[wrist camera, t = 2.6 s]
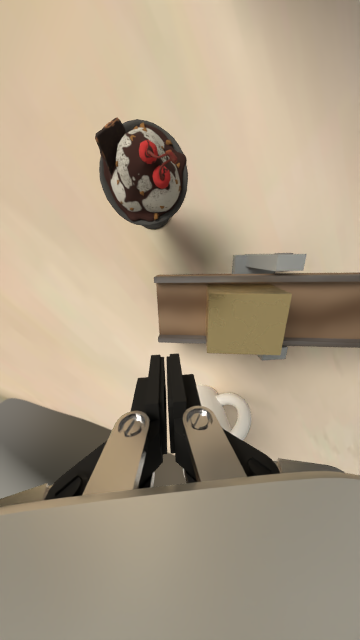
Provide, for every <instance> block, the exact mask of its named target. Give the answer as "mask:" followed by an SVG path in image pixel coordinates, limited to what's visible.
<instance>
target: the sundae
mask: <svg viewBox="0 0 360 640" xmlns="http://www.w3.org/2000/svg"><path fill="white" fill-rule="evenodd" d="M95 139H96V142H97V144H98V146H99V149H100V153H101V159H100V167H99V172H100V181H101V184H102V188H103V191H104V193H105V195H106V197H107V200H108V201H109V202H110V204H111V205H112V207H113V208H114V209H115V210H116V212H117V213H118V214H119V215H120V216H122V217H123V218H124V219H126V220H127V221H129V222H131V223H134V224H136V225H143V226H144V227H146V228H149V229H157V228H160V227H162V226H164V225H165V224H166V223H167V222H168V220H169V218H170V217H172V216H173V215H174V214H175V213H176V212H177V211H178V210H179V208H180V207H181V205H182V203H183V201H184V198H185V195H186V191H187V182H188V172H187V166H186V156H185V155H184V154H183V152H182V150H181V148H180V147H179V145H178V143H177V142H176V141H175V139H174V138H173V137H172V136H171V135H170V134H169V133H168V132H166V131H165V130H164V129H162V128H161V127H159V126H157V125H156V124H154V123H151V122H148V121H144V120H138V119H136V120H131V121H127V122H125V123H123V124H122V123H121V121H120V120H119V119H118V118H115V119H113V120H112V121H111V122H109V123H108V124H106V125H105V126H104V127H103V129H102V130H100V131H99V132H97V133H96V136H95Z"/></svg>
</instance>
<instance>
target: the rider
mask: <svg viewBox="0 0 360 640" xmlns="http://www.w3.org/2000/svg"><path fill="white" fill-rule="evenodd" d="M291 297H292V294H291V293H289V292H287V291H285V290H282V289H280V288H278V287H276V286H273V285H271V284H250V285H207V302H206V344H207V353H223V354H255V355H281V350H282V344H283V339H284V334H285V328H286V323H287V318H288V313H289V307H290V302H291Z"/></svg>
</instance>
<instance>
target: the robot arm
mask: <svg viewBox="0 0 360 640" xmlns="http://www.w3.org/2000/svg"><path fill="white" fill-rule="evenodd" d="M167 387H168V413H169V431H170V449H171V453H175V457H176V462H177V463H178V464H179V465H180V466H181V467H183V468H184V475H185V479H186V484H177V485H169V486H160V487H153V483H154V477H155V476H154V475H155V470H156V469H157V468H158V467H159V465H160V464H161V463H162V462H163V454H167V419H166V386H165V369H164V357H160V355H151V360H150V368H149V376H148V377H146V378H138V380H137V384H136V389H135V394H134V398H133V403H132V408H131V412H128V413H126V414H124V415H122V416H121V417H120V418H119V419H118V420H117V422H116V423H115V425H114V428H113V430H112V432H111V434H110V437H109V439H108V440H107V441H106V442H105V443H103V444H102V445H100V446H99V447H98V448H97V449H95V450H94V451H93V452H92V453H90V454H89V455H88V456H86V457H85V458H84V459H83V460H81V461H80V462H79V463H78V464H76V465H75V466H74V467H72V468H71V469H70V470H69V471H67V472H66V473H65V474H64V475H62V476H61V477H60V478H59V479H58V480H57V481H56V482H55V483H54V484H53V485H51V486H48V484H47V483H46V484H43V485H40V486H38V487H34V488H31V489H28V490H25V491H22V492H19V493H17V494H14V495H11V496H7V497H5V498H1V499H0V640H360V475H354V474H348V473H345V472H343V471H341V470H339V469H338V468H336V467H332V466H329V465H322V464H315V463H308V462H301V461H294V460H286V459H279V458H278V461H272V459H271V458H269V457H268V456H267V455H265V454H264V453H262V452H260V451H259V450H257V449H256V448H254V447H252V446H251V445H249V444H247V443H246V442H244V441H242V440H241V439H239V438H238V437H236V436H234V435H233V434H231V433H229V432H228V431H226V430H224V429H223V428H222V427H221V425H220V423H219V421H218V420H217V418H216V416H215V414H214V413H213V411H211V410H210V409H209V408H207V407H204V406H201V402H200V398H199V395H198V391H197V387H196V383H195V379H194V375H193V374H189V375H182V371H181V365H180V358H179V354H170V357H167Z"/></svg>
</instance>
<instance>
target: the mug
mask: <svg viewBox="0 0 360 640" xmlns="http://www.w3.org/2000/svg"><path fill="white" fill-rule="evenodd" d="M196 387H197V391H198V395H199V398H200V402H201V406H204V407H207V408H209V409H210V410H211V411H213V413H214V414H215V416H216V418H217V420H218V421H219V423H220V425H221V427H222V428H223V429H224V430H226V431H228V432H229V433H231V434H233V435H234V436H236V437H238V438H239V439H241V440H242V441H243V440H244V439H245V437H246V436H247V434H248V432H249V429H250V426H251V412H250V408H249V406H248V404H247V402H246V401H245V400H244V399H243V398H242V397H240V396H239V395H237V394H234V393H223V394H219V395H218V393H217V392H216V391H215V390H214V389H213V388H211V387H210V386H207V385H196ZM224 405H233V406H234V407H235V408H236V409H237V412H238V418H237V422H236V424H235V426H234V427H233V429H231V426H230V424H229V421H228V418H227V416H226V413H225V411H224V408H223V406H224ZM183 471H184V468H183ZM184 477H185V475H184Z"/></svg>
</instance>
